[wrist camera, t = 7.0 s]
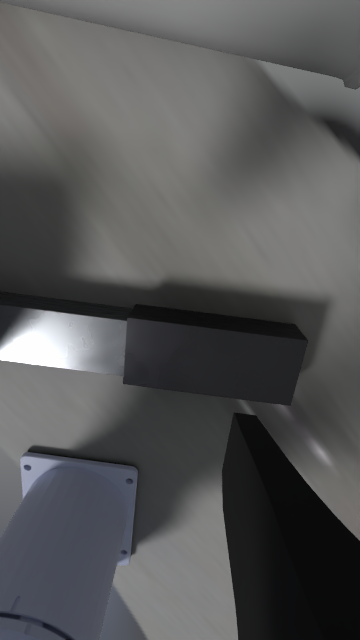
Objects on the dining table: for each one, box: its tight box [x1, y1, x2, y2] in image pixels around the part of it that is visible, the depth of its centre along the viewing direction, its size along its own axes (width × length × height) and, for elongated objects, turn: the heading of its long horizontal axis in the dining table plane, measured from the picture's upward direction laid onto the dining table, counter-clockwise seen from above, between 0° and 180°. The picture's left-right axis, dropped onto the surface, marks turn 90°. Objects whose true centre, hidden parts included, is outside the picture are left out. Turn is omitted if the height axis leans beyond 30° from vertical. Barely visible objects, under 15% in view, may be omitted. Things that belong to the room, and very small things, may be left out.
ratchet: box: [0, 292, 308, 406], centre depth 17 cm, size 6×23×5 cm, turn 83°
